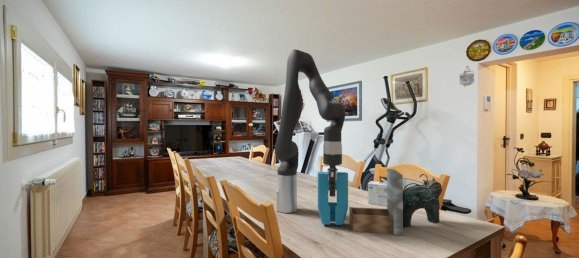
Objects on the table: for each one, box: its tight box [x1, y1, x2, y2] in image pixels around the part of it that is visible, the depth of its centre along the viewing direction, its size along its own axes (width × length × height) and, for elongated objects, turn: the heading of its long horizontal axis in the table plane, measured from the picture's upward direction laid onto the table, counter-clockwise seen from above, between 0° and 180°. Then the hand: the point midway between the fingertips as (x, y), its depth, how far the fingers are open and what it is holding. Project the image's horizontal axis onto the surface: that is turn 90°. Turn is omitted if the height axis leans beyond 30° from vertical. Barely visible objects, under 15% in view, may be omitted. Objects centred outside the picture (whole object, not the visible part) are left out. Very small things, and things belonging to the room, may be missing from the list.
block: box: [317, 171, 349, 226], centre depth 108 cm, size 12×5×20 cm, turn 82°
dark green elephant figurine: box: [403, 173, 443, 228], centre depth 108 cm, size 20×6×20 cm, turn 108°
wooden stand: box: [348, 168, 404, 237], centre depth 105 cm, size 18×14×22 cm
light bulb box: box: [367, 180, 387, 207], centre depth 137 cm, size 11×7×11 cm, turn 58°
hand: (332, 194), depth 108 cm, fingers closed on block, 5 cm apart
